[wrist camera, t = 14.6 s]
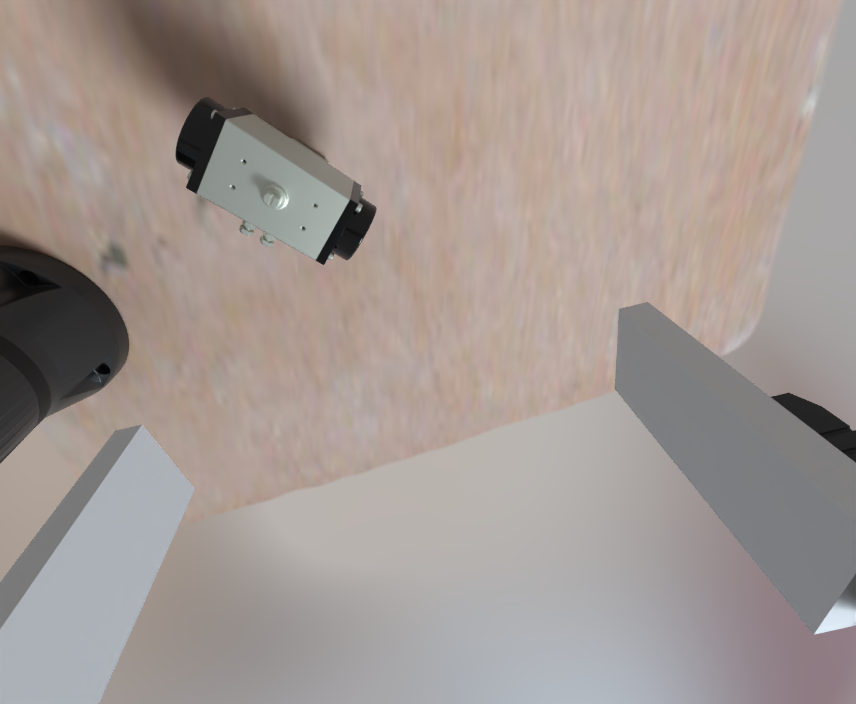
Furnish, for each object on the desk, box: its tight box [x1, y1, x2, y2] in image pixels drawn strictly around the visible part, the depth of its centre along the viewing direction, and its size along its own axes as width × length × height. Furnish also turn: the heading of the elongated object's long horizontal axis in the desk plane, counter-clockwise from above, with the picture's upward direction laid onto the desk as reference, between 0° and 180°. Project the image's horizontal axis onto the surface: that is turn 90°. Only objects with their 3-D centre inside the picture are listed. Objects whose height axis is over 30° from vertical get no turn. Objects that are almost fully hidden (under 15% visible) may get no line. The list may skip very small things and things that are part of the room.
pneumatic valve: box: [176, 97, 376, 265], centre depth 29 cm, size 6×12×12 cm, turn 55°
